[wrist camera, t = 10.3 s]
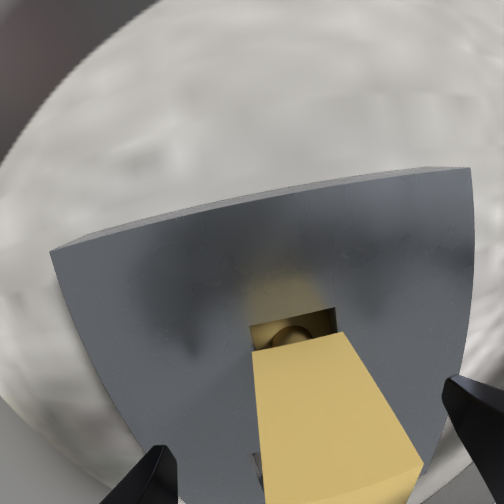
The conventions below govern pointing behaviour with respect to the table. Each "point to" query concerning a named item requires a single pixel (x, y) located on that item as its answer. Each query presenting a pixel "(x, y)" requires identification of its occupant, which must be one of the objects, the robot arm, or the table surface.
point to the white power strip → (464, 490)
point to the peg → (325, 420)
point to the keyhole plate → (274, 309)
